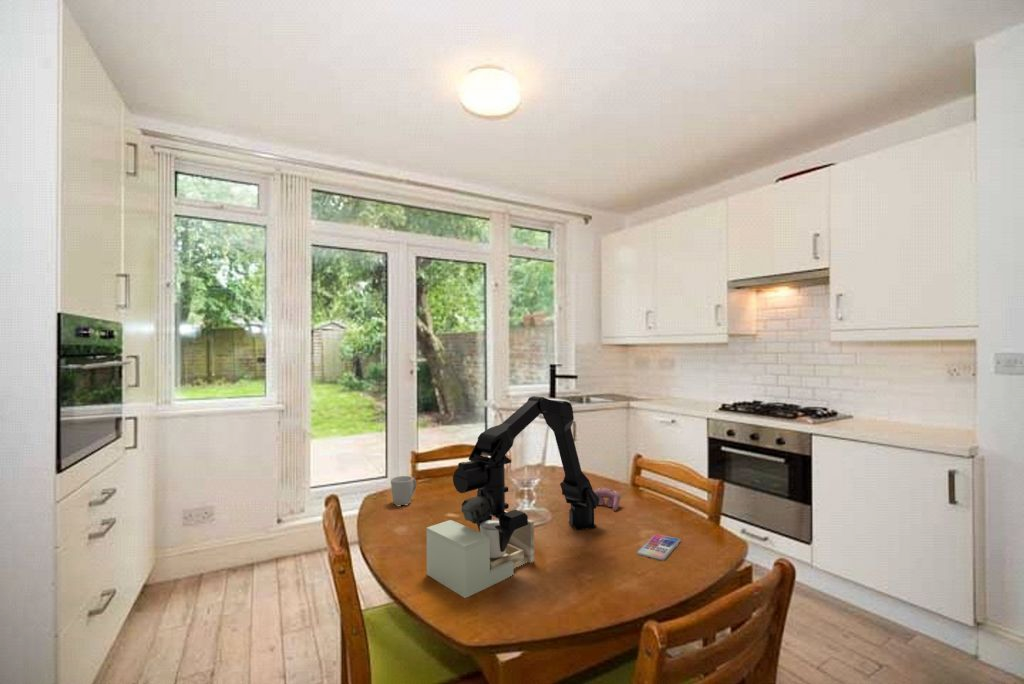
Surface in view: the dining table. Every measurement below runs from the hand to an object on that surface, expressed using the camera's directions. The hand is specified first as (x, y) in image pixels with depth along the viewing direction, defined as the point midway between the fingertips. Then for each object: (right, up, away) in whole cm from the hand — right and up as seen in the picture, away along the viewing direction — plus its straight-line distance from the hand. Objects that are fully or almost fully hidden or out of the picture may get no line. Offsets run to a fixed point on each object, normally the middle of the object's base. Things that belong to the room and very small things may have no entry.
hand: (493, 547), depth 114 cm
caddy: (-6, -4, -5) cm, 9 cm away
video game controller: (+35, -5, +41) cm, 54 cm away
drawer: (+1, -4, +1) cm, 4 cm away
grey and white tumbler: (0, -2, 0) cm, 2 cm away
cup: (-33, -5, +46) cm, 57 cm away
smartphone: (+43, -5, +9) cm, 45 cm away
